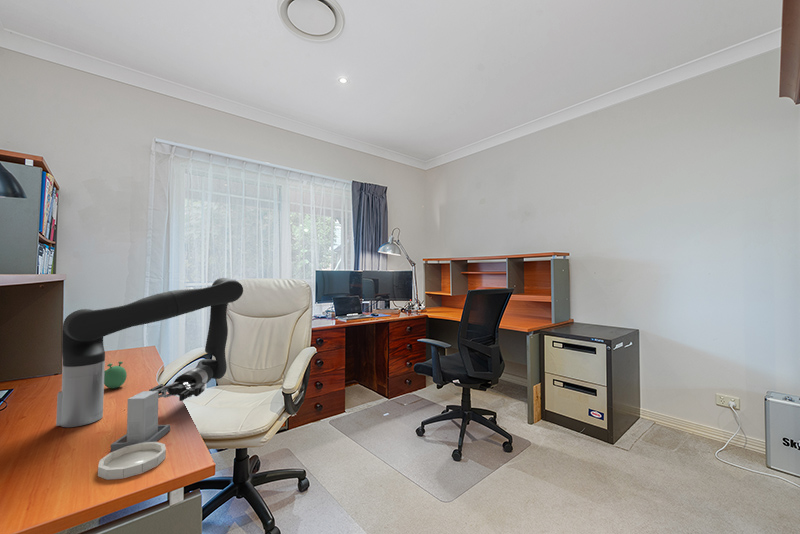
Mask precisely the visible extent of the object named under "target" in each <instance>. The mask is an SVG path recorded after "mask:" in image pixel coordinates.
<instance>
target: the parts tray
mask: <svg viewBox="0 0 800 534" xmlns="http://www.w3.org/2000/svg"><path fill="white" fill-rule="evenodd" d="M168 431H169V432H170V431H171V424H158V433H156V434H155V435H154V436H153V437H151V438H150V439H149V440H147V441H142V442H127V433H125V434H124V435H123V436H121V437H120V438H118V439H117V440H115V441H113V442H112V443H111V444H110V452H113V451H116V450H118V449H121V448H123V447H126V446H130V445H134V444H138V443H144V442H159V441H160V439H162V438H163V437H164V436H165V435H167V433H169V432H168Z"/></svg>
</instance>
